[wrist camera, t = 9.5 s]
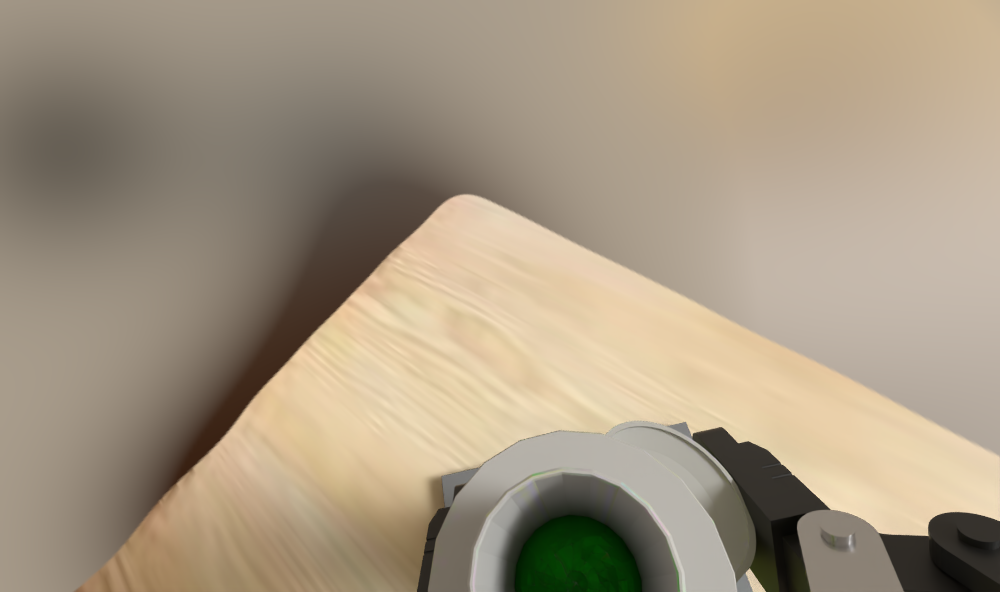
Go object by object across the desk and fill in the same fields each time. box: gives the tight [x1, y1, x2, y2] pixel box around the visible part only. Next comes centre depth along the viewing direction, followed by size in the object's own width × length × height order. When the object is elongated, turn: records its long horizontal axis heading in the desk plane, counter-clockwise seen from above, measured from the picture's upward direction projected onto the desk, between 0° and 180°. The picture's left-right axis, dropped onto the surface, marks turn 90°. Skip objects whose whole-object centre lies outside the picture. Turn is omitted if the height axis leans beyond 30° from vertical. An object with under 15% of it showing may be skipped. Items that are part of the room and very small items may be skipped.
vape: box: [428, 421, 756, 592], centre depth 12 cm, size 4×6×20 cm, turn 129°
